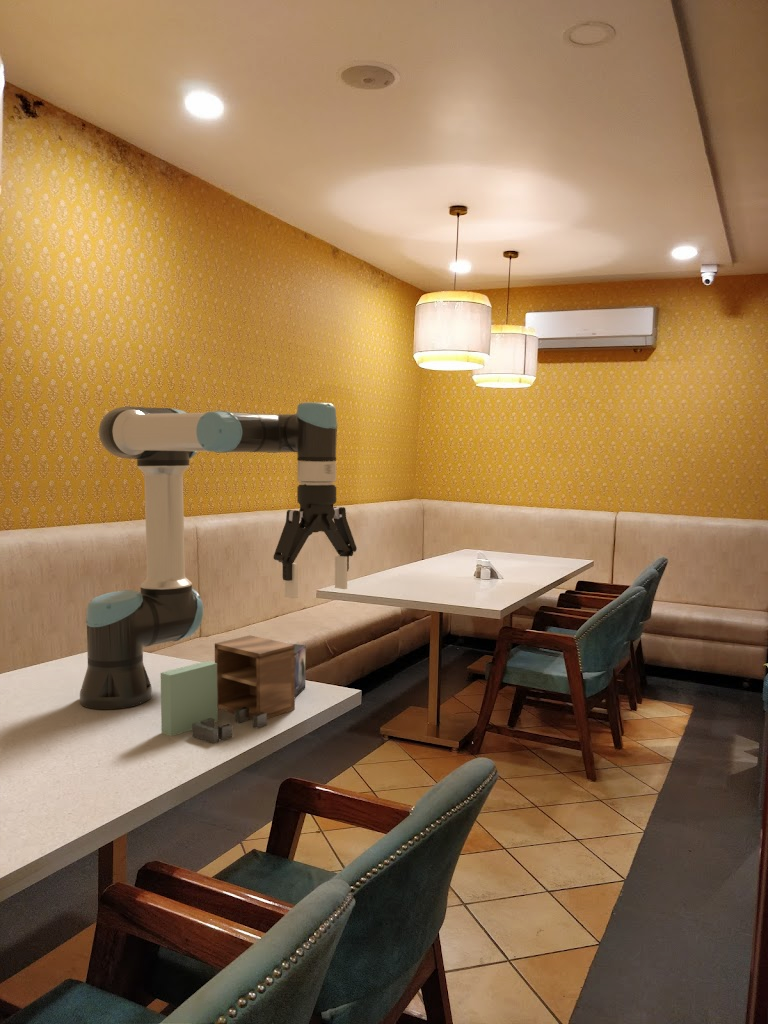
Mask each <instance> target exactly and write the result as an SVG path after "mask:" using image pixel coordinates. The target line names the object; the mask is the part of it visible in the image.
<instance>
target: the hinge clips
mask: <svg viewBox="0 0 768 1024" xmlns="http://www.w3.org/2000/svg"><path fill="white" fill-rule="evenodd" d="M249 720H250V718H249V708H248V707H242V708H239V709H236V714H235V722H236V723H243V722H244V723H245V722H247V721H249ZM267 720H268V719H267V713H265V712H260V713H257V714H254V715H253V719H252V721H253V722H252V725H253V726H252V727H253V728H255V729H260V728H262V727H263V728H264V727H266V726H267V722H268V721H267ZM215 725H216V724H215V719H213V718H208V719H205V720H202V721H201V724H200V723H197V722H196V723H193V724H192V730H191V735H192V737H193V738H196V739H198V740H202V741H203V742H207V743H210V744H213V745H215V744H217V743H219V741H221V742H223V741H226V740H228V739H232V738H233V724H232V723H228V722H227V723H224V724H222V725H219V726H217V728H215Z"/></svg>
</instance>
